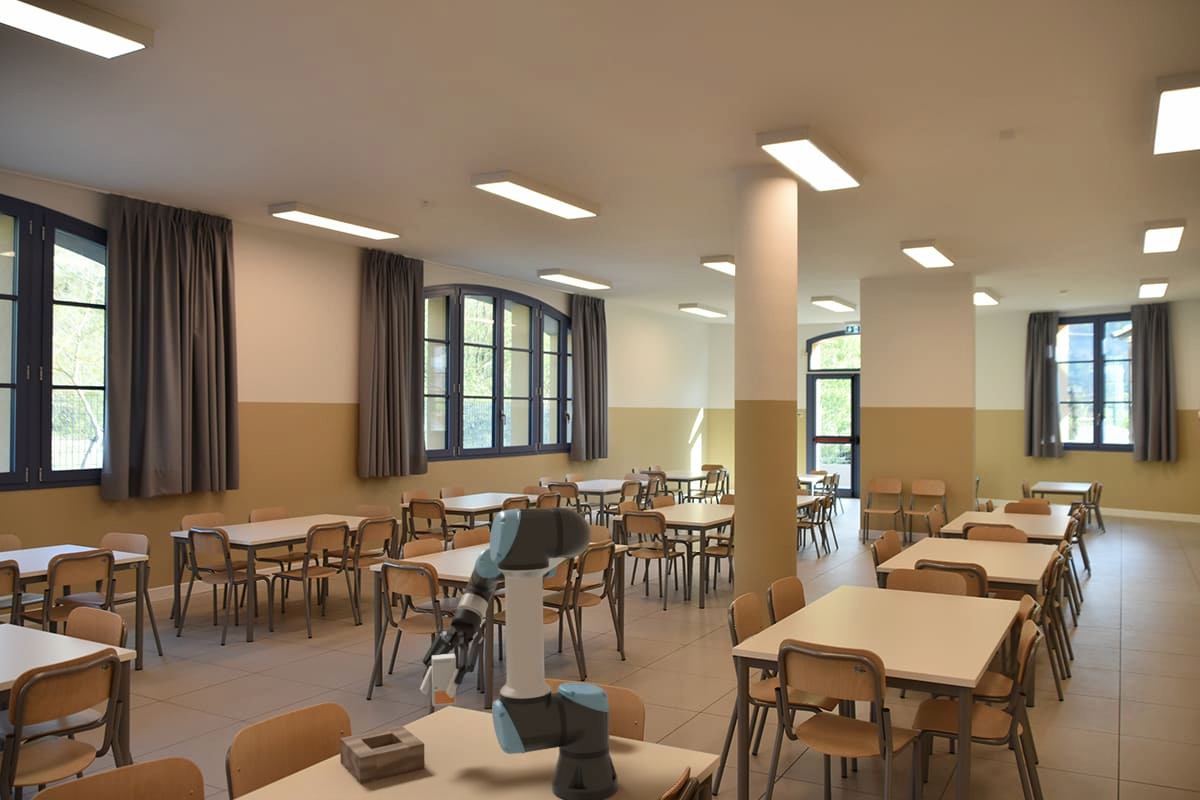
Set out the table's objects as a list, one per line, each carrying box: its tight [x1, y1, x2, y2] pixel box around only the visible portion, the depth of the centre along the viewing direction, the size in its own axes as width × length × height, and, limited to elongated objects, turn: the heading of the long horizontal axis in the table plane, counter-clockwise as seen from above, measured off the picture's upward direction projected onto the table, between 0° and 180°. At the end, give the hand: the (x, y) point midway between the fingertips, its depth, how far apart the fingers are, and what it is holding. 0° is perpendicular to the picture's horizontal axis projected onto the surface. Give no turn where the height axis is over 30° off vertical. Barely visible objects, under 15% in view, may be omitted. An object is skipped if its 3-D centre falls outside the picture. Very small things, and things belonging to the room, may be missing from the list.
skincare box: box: [431, 653, 457, 707], centre depth 218 cm, size 6×4×12 cm
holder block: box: [339, 725, 425, 784], centre depth 212 cm, size 16×16×6 cm
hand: (436, 693), depth 215 cm, fingers closed on skincare box, 7 cm apart
